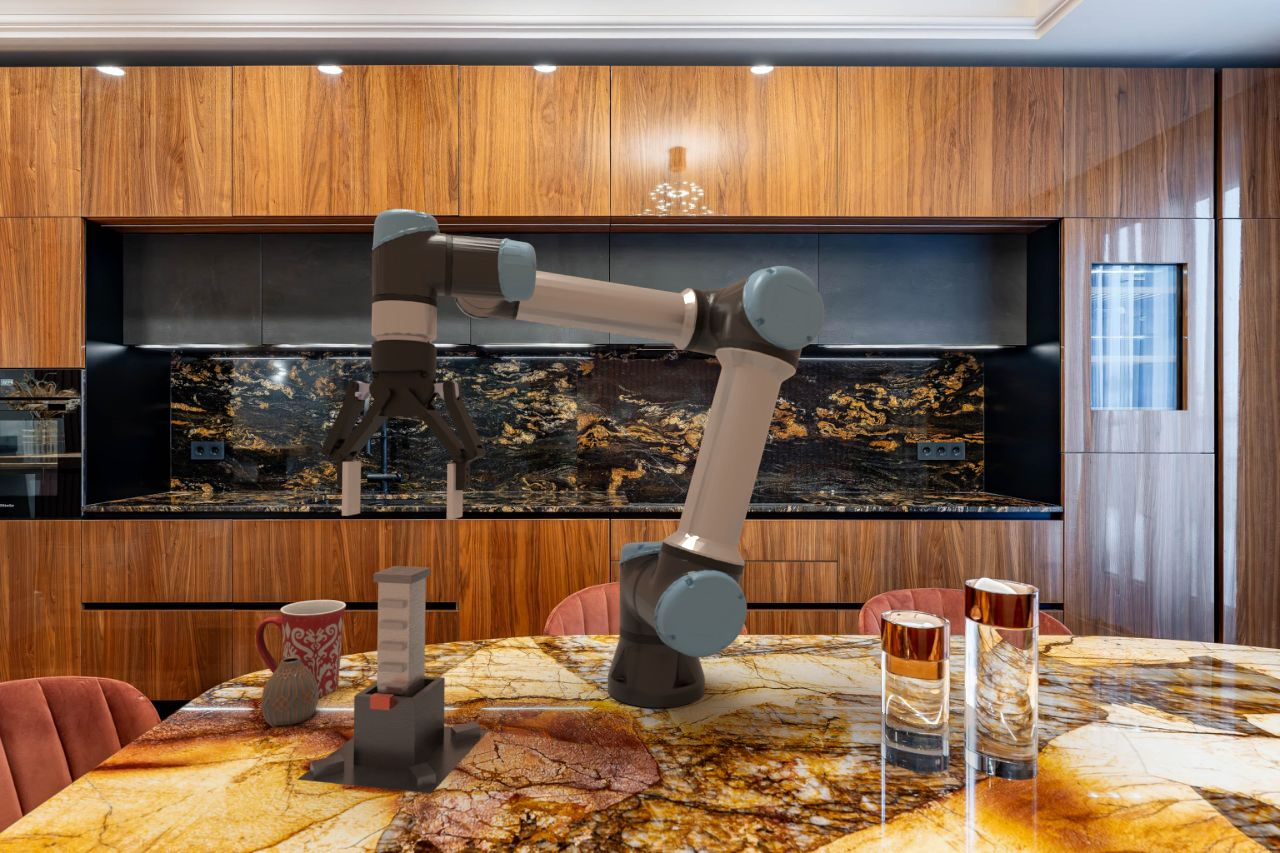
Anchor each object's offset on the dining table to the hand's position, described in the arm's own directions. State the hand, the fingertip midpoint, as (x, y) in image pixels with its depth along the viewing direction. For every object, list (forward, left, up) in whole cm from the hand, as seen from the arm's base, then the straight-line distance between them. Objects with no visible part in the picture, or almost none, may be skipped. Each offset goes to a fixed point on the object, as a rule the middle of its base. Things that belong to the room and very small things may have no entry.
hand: (402, 516), depth 84 cm
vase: (+20, -7, -30) cm, 36 cm away
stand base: (0, 0, -29) cm, 30 cm away
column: (0, 0, -28) cm, 29 cm away
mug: (+25, -16, -30) cm, 42 cm away
